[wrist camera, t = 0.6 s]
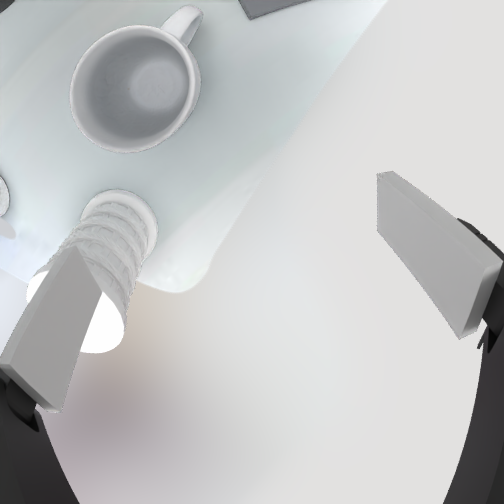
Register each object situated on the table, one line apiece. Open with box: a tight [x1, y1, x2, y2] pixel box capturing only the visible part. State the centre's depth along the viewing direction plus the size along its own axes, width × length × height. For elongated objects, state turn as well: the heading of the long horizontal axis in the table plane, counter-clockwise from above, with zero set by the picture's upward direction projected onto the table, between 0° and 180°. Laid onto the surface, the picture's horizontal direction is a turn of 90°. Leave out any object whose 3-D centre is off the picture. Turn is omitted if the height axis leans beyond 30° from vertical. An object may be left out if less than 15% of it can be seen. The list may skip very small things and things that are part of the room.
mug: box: [69, 5, 203, 153], centre depth 24 cm, size 15×11×13 cm
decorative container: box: [26, 189, 158, 353], centre depth 32 cm, size 12×12×18 cm
